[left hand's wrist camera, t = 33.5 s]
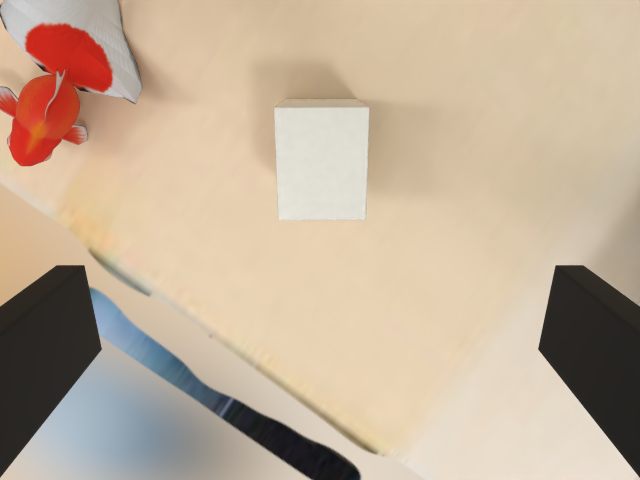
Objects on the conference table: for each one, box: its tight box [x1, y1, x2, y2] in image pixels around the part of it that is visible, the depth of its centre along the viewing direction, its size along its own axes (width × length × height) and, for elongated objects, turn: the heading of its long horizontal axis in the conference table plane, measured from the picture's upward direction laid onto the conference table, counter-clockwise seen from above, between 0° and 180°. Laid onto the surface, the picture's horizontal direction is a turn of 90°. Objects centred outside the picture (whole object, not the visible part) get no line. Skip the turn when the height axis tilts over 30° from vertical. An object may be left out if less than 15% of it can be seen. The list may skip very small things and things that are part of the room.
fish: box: [0, 0, 143, 166], centre depth 35 cm, size 11×16×10 cm
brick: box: [274, 99, 370, 220], centre depth 36 cm, size 6×8×10 cm
